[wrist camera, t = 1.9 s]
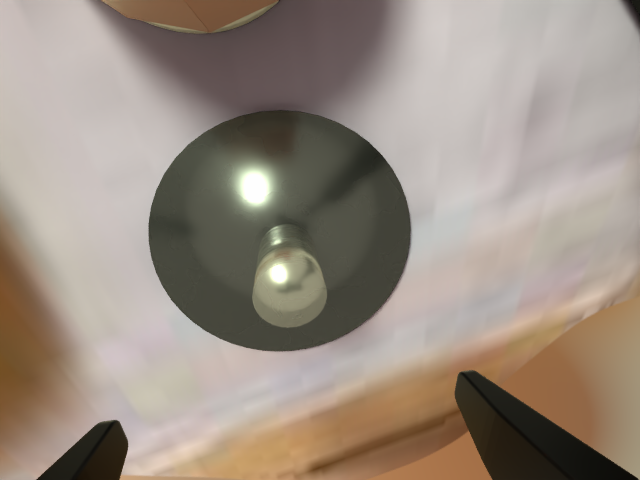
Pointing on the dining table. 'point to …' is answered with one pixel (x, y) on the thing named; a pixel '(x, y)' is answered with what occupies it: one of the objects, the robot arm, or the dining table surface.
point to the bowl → (193, 13)
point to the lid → (279, 230)
